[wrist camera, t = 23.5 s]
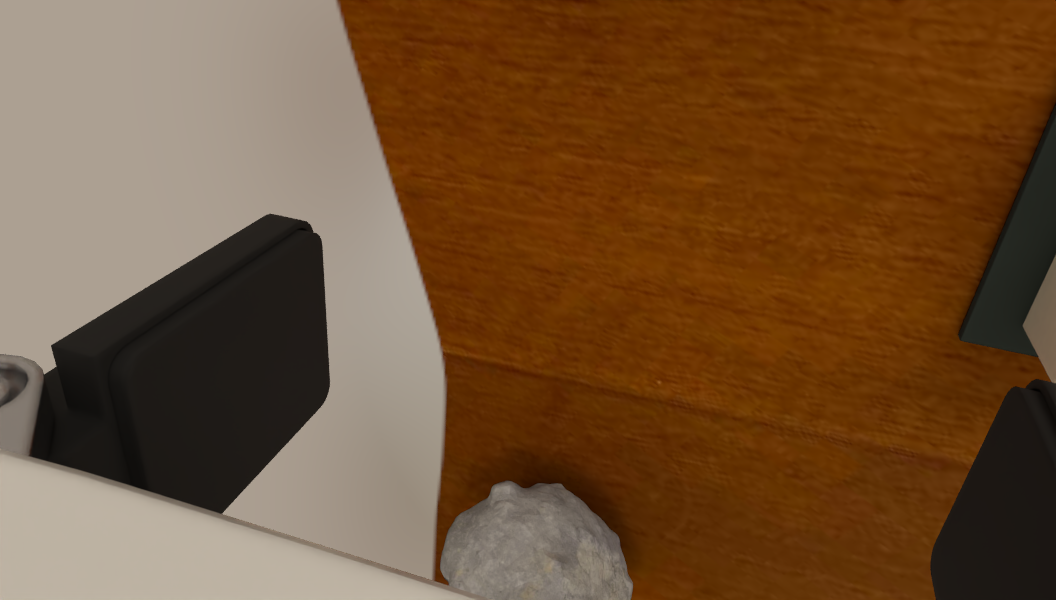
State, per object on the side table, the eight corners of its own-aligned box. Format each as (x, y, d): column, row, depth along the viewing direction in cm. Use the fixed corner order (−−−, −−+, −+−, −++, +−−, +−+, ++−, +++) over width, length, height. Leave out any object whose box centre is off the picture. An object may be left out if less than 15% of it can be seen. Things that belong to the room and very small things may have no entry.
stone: (480, 525, 45) (406, 672, 36) (488, 434, 41) (409, 572, 33) (637, 574, 43) (597, 742, 34) (659, 482, 39) (621, 643, 31)
